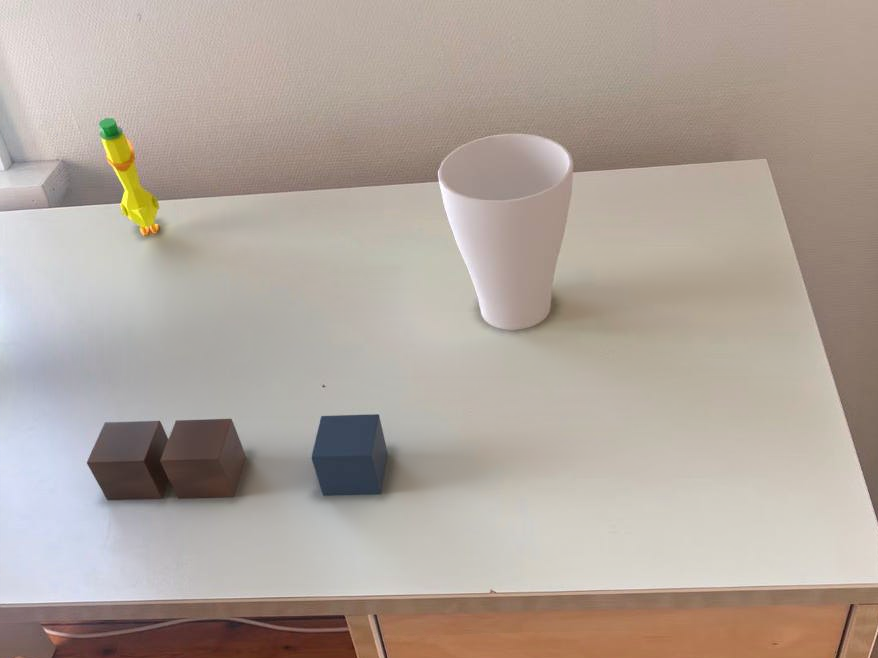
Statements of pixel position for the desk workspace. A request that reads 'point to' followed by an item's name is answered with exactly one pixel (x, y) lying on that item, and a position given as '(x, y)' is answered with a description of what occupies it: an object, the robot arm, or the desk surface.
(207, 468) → the block
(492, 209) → the cup
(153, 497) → the block
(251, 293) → the desk surface
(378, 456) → the block
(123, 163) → the toy figure
